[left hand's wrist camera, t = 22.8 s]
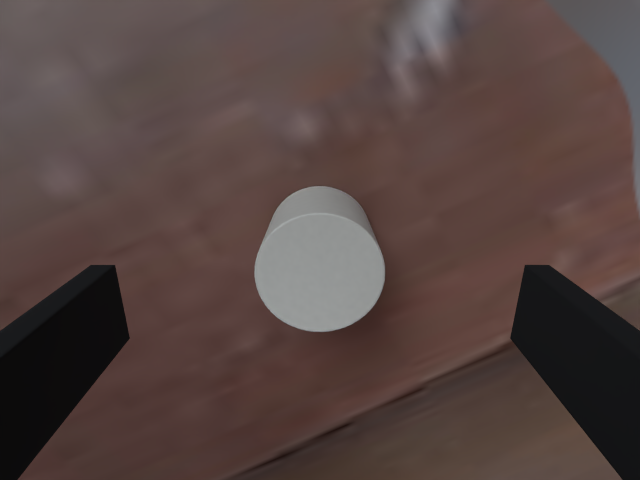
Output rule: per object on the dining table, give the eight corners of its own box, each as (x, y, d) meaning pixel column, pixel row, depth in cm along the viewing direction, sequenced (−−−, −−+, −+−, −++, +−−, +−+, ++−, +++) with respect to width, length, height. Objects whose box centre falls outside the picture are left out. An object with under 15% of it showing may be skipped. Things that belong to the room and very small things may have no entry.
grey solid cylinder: (248, 237, 20) (227, 279, 15) (317, 163, 18) (316, 184, 14) (321, 298, 21) (322, 354, 16) (390, 233, 19) (412, 273, 15)
